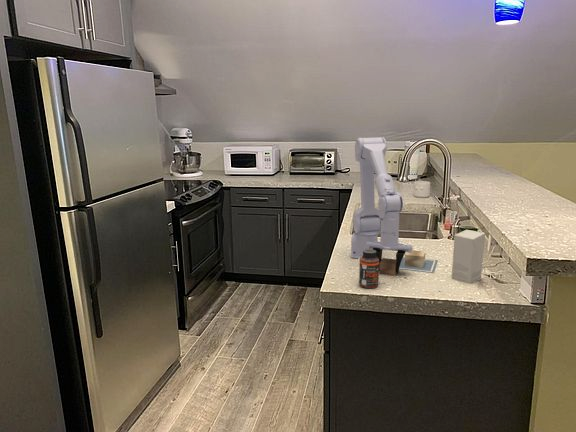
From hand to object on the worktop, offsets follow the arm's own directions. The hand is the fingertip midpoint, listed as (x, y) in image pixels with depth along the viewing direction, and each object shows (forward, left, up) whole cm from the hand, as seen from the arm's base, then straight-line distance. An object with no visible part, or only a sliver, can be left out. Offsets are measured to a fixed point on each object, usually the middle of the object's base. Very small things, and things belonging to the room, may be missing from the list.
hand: (388, 271), depth 148 cm
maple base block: (+7, +11, 0) cm, 13 cm away
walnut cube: (0, 0, -2) cm, 2 cm away
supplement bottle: (-4, -11, -2) cm, 12 cm away
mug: (-8, +145, -2) cm, 145 cm away
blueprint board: (+7, +11, -1) cm, 13 cm away
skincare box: (+24, +3, -2) cm, 24 cm away
